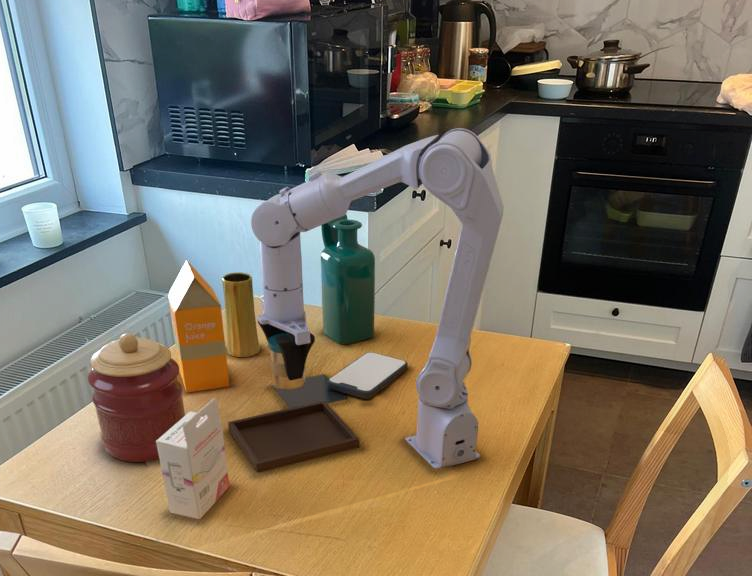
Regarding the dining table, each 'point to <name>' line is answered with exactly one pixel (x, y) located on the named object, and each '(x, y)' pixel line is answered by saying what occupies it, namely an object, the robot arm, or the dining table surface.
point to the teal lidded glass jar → (281, 367)
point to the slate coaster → (310, 392)
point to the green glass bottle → (347, 283)
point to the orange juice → (198, 332)
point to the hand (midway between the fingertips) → (288, 370)
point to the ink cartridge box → (194, 462)
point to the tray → (292, 435)
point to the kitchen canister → (135, 396)
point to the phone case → (367, 375)
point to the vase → (240, 315)
